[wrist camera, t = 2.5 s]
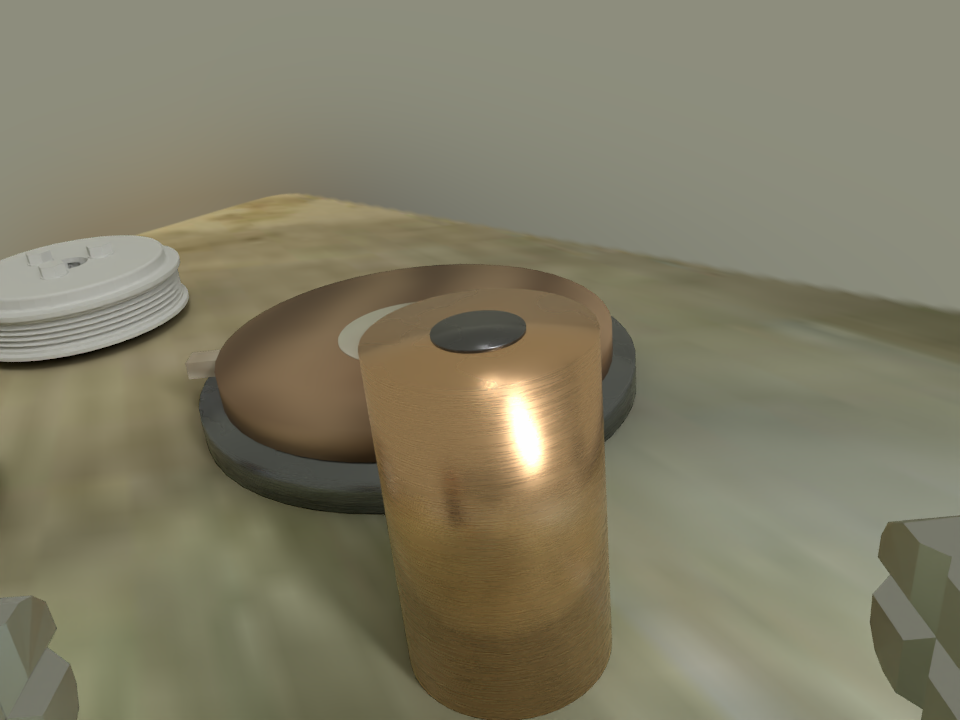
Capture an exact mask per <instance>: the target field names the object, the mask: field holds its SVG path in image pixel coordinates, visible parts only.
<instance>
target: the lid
mask: <svg viewBox="0 0 960 720" xmlns="http://www.w3.org/2000/svg"><path fill="white" fill-rule="evenodd" d="M179 264H180V258H179V255H178V253H177V251H175V250H174V249H172V248H170V247H168V246H164V245H162V244H161V243H160V242H159V241H157V240H154V239H152V238H148V237H142V236H130V235H125V236H124V235H121V236H120V235H119V236H103V237H93V238H86V239H79V240H73V241H67V242H62V243H57V244H53V245H49V246H44V247H41V248H37V249H33V250H29V251H26V252H23V253H20V254H16V255H13V256H11V257H8V258H5V259H3V260H0V361H4V362H25V361H38V360H46V359H54V358H60V357H65V356H71V355H76V354H80V353H85V352H89V351H93V350H96V349H100V348H104V347H107V346H110V345H114V344H117V343H120V342H123V341H125V340H128V339H131V338H133V337H136V336H139V335H141V334H143V333H145V332H148V331H150V330H152V329H154V328H156V327H158V326H160V325H161V324H163V323H165V322H166V321H168V320H170V319H171V318H173V317H174V316H175V315H176V314H178V313H179V312H180V311H181V310H182V309H183V308H184V307H185V305H186V304H187V302H188V299H189V294H188V290H187V288H186V287H185V286H184V285H183V284H181V282H180V277H179V273H178V269H177V268H178V267H179Z"/></svg>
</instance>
